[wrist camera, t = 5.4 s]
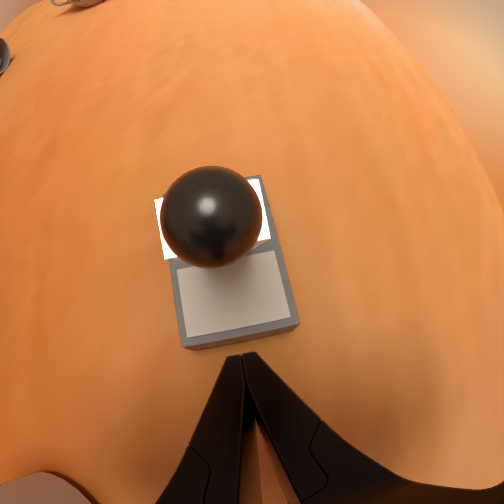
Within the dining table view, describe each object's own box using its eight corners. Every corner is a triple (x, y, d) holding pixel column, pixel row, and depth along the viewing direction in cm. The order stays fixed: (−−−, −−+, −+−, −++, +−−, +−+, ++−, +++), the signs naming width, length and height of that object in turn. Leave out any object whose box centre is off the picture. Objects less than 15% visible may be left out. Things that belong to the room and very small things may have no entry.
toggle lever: (252, 259, 16) (284, 256, 7) (199, 270, 16) (154, 281, 6) (243, 210, 16) (259, 141, 7) (190, 220, 16) (136, 166, 6)
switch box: (292, 330, 18) (300, 322, 15) (193, 350, 18) (180, 346, 15) (259, 200, 21) (260, 172, 18) (173, 217, 21) (161, 192, 18)
